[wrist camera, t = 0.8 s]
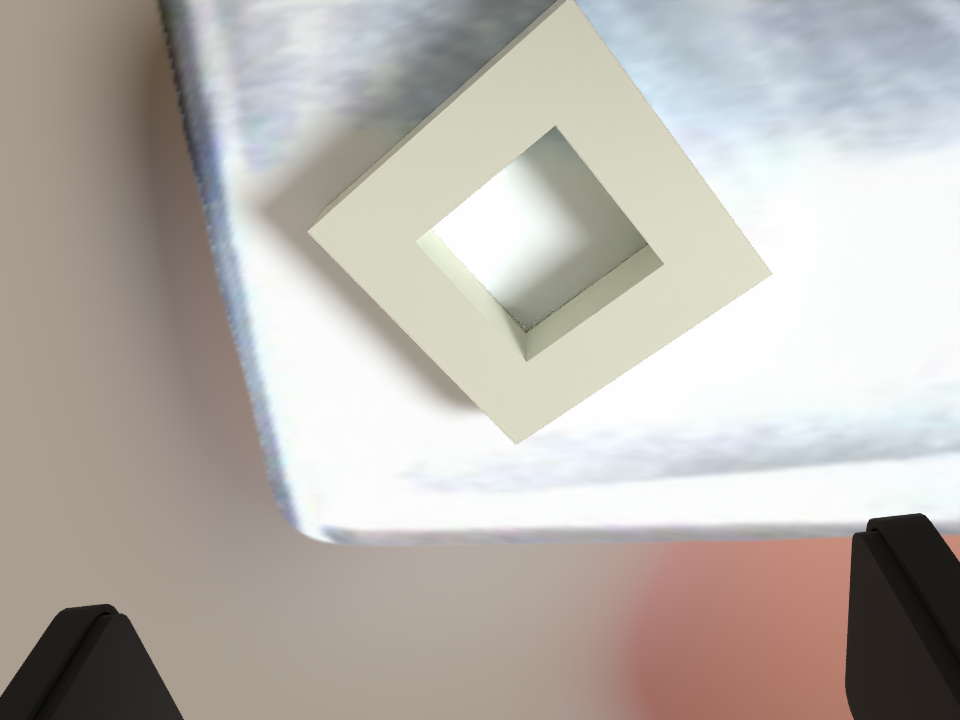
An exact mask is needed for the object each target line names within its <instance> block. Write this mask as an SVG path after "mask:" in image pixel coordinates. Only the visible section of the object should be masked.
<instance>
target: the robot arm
mask: <svg viewBox="0 0 960 720" xmlns="http://www.w3.org/2000/svg"><path fill="white" fill-rule="evenodd" d="M846 655H847V656H846V675H845V688H846V695H847V699H848V704H849V707H850V711H851V713H852V716H853V718H854V720H960V562H959V561H958V559H957V558H956V557H955V555H954V554H953V552H952V551H951V549H950V548H949V546H948V545H947V544H946V542H945V541H944V539H943V538H942V537H941V535H940V534H939V532H938V531H937V530H936V528H935V527H934V525H933V524H932V523H931V521H930V520H929V519H928V518H927V517H926V516H925V515H923V514H921V513H917V514H908V515H899V516H890V517H881V518H873V519H870V520H869V521H868V523H867V528H866V532H860V533H854V535H853V539H852V554H851V574H850V595H849V614H848V634H847V654H846ZM0 720H184V719H183V717H182V715H181V713H180V712H179V710H178V708H177V706H176V704H175V702H174V701H173V699H172V697H171V695H170V693H169V691H168V690H167V688H166V686H165V684H164V682H163V680H162V679H161V677H160V675H159V673H158V671H157V669H156V668H155V666H154V664H153V663H152V660H151V658H150V657H149V655H148V653H147V651H146V649H145V648H144V645H143V644H142V642H141V640H140V638H139V636H138V635H137V633H136V631H135V629H134V627H133V625H132V624H131V622H130V620H129V619H128V617H127V616H126V615H124V614H119V612H118V611H117V610H116V609H115V607H113V606H111V605H109V604H101V605H92V606H82V607H74V608H66V609H64V610H62V611H60V612H59V613H58V614H57V615H56V617H55V618H54V619H53V620H52V622H51V623H50V625H49V626H48V628H47V629H46V631H45V632H44V634H43V635H42V637H41V638H40V640H39V641H38V642H37V644H36V646H35V647H34V648H33V650H32V651H31V653H30V654H29V656H28V657H27V659H26V660H25V662H24V663H23V665H22V666H21V667H20V669H19V670H18V672H17V673H16V675H15V677H14V678H13V679H12V681H11V682H10V684H9V685H8V687H7V688H6V690H5V691H4V692H3V694H2V695H1V697H0Z"/></svg>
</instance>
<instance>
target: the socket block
mask: <svg viewBox="0 0 960 720" xmlns="http://www.w3.org/2000/svg"><path fill="white" fill-rule="evenodd" d="M554 126H556V127H557V128H558V129H559V131H560V132H561V133H562V135H563V136H564V137H565V138H566V140H567V141H568V142H569V143H570V145H571V146H572V147H573V149H574V150H575V151H576V152H577V154H578V155H579V156H580V157H581V159H582V160H583V161H584V163H585V164H586V165H587V166H588V168H589V169H590V170H591V171H592V173H593V174H594V175H595V177H596V178H597V179H598V180H599V182H600V183H601V184H602V185H603V187H604V188H605V189H606V191H607V192H608V193H609V194H610V196H611V197H612V198H613V199H614V201H615V202H616V203H617V205H618V206H619V207H620V208H621V210H622V211H623V212H624V213H625V215H626V216H627V217H628V219H629V220H630V221H631V222H632V224H633V225H634V226H635V227H636V229H637V230H638V231H639V233H640V234H641V235H642V236H643V238H644V239H645V240H646V241H647V243H648V245H646V246H645V247H644V248H642V249H641V250H639V251H638V252H637V253H635V254H634V255H633V256H631V257H630V258H628V259H627V260H626V261H624V262H623V263H622V264H620V265H619V266H617V267H616V268H615V269H613V270H612V271H611V272H609V273H608V274H606V275H605V276H604V277H602V278H601V279H600V280H598V281H597V282H595V283H594V284H593V285H591V286H590V287H589V288H587V289H586V290H584V291H583V292H582V293H580V294H579V295H578V296H576V297H575V298H573V299H572V300H571V301H569V302H568V303H567V304H565V305H564V306H562V307H561V308H560V309H558V310H557V311H555V312H554V313H553V314H551V315H550V316H549V317H547V318H546V319H544V320H543V321H542V322H540V323H539V324H538V325H536V326H535V327H533V328H532V329H531V330H529V331H528V332H527V333H525V332H524V330H523V329H522V328H521V327H520V326H519V325H518V324H517V323H516V322H515V321H514V319H513V318H512V317H511V316H510V315H509V314H508V313H507V312H506V311H505V309H504V308H503V307H502V306H501V305H500V304H499V303H498V302H497V301H496V300H495V298H494V297H493V296H492V295H491V294H490V293H489V292H488V291H487V290H486V289H485V287H484V286H483V285H482V284H481V283H480V282H479V281H478V280H477V279H476V277H475V276H474V275H473V274H472V273H471V272H470V271H469V270H468V269H467V268H466V266H465V265H464V264H463V263H462V262H461V261H460V260H459V259H458V258H457V256H456V255H455V254H454V253H453V252H452V251H451V250H450V249H449V248H448V247H447V245H446V244H445V243H444V242H443V241H442V240H441V239H440V238H439V237H438V236H437V234H436V233H435V232H434V231H433V230H432V229H431V228H432V227H433V226H435V225H436V224H437V223H438V222H439V221H441V220H442V219H443V218H444V217H446V216H447V215H448V214H449V213H450V212H452V211H453V210H454V209H455V208H456V207H458V206H459V205H460V204H461V203H462V202H464V201H465V200H466V199H467V198H468V197H470V196H471V195H472V194H473V193H475V192H476V191H477V190H478V189H479V188H481V187H482V186H483V185H484V184H485V183H487V182H488V181H489V180H490V179H491V178H493V177H494V176H495V175H496V174H497V173H499V172H500V171H501V170H502V169H503V168H505V167H506V166H507V165H508V164H510V163H511V162H512V161H513V160H514V159H516V158H517V157H518V156H519V155H520V154H522V153H523V152H524V151H525V150H526V149H528V148H529V147H530V146H531V145H532V144H534V143H535V142H536V141H537V140H538V139H540V138H541V137H542V136H543V135H545V134H546V133H547V132H548V131H549V130H551V129H552V128H553V127H554ZM307 232H308V233H309V235H310V236H311V237H312V238H313V239H314V240H315V241H316V242H317V243H318V244H319V245H320V246H321V247H322V248H323V249H324V250H325V251H326V252H327V253H328V254H329V255H330V256H331V257H332V258H333V259H334V260H335V261H336V262H337V263H338V264H339V265H340V266H341V267H342V268H343V269H344V270H345V271H346V272H347V273H348V274H349V275H350V276H351V277H352V278H353V279H354V280H355V281H356V282H357V283H358V284H359V285H360V287H361V288H362V289H363V290H364V291H365V292H366V293H367V294H368V295H369V296H370V297H371V298H372V299H373V300H374V301H375V302H376V303H377V304H378V305H379V306H380V307H381V308H382V309H383V310H384V311H385V312H386V313H387V314H388V315H389V316H390V317H391V318H392V319H393V320H394V321H395V322H396V323H397V324H398V325H399V326H400V327H401V328H402V329H403V330H404V331H405V332H406V333H407V334H408V335H409V336H410V338H411V339H412V340H413V341H414V342H415V343H416V344H417V345H418V346H419V347H420V348H421V349H422V350H423V351H424V352H425V353H426V354H427V355H428V356H429V357H430V358H431V359H432V360H433V361H434V362H435V363H436V364H437V365H438V366H439V367H440V368H441V369H442V370H443V371H444V372H445V373H446V374H447V375H448V376H449V377H450V378H451V379H452V380H453V381H454V382H455V383H456V384H457V385H458V386H459V387H460V388H461V390H462V391H463V392H464V393H465V394H466V395H467V396H468V397H469V398H470V399H471V400H472V401H473V402H474V403H475V404H476V405H477V406H478V407H479V408H480V409H481V410H482V411H483V412H484V413H485V414H486V415H487V416H488V417H489V418H490V419H491V420H492V421H493V422H494V423H495V424H496V425H497V426H498V427H499V428H500V429H501V430H502V431H503V432H504V433H505V434H506V435H507V436H508V437H509V438H510V439H511V441H512V442H513V443H514V444H515V445H517V444H519V443H520V442H522V441H523V440H525V439H526V438H528V437H529V436H531V435H532V434H534V433H535V432H537V431H538V430H540V429H541V428H543V427H544V426H546V425H547V424H549V423H550V422H552V421H553V420H555V419H556V418H558V417H559V416H561V415H562V414H564V413H565V412H567V411H568V410H570V409H571V408H573V407H574V406H576V405H577V404H579V403H580V402H582V401H583V400H585V399H586V398H588V397H589V396H591V395H592V394H594V393H595V392H597V391H598V390H600V389H601V388H603V387H604V386H606V385H607V384H609V383H610V382H612V381H613V380H615V379H616V378H618V377H619V376H621V375H622V374H624V373H625V372H627V371H628V370H630V369H631V368H633V367H634V366H636V365H637V364H639V363H640V362H642V361H643V360H645V359H646V358H648V357H649V356H651V355H652V354H654V353H655V352H657V351H658V350H660V349H661V348H663V347H664V346H666V345H667V344H669V343H670V342H672V341H673V340H675V339H676V338H678V337H679V336H681V335H682V334H684V333H685V332H687V331H688V330H690V329H691V328H693V327H694V326H696V325H697V324H699V323H700V322H702V321H703V320H705V319H706V318H708V317H709V316H711V315H712V314H714V313H715V312H717V311H718V310H720V309H721V308H723V307H724V306H726V305H727V304H729V303H730V302H732V301H733V300H735V299H736V298H738V297H739V296H741V295H742V294H744V293H745V292H747V291H748V290H750V289H751V288H753V287H754V286H756V285H757V284H759V283H760V282H762V281H763V280H765V279H766V278H768V277H769V276H771V275H772V273H771V271H770V270H769V268H768V267H767V266H766V264H765V263H764V262H763V260H762V259H761V257H760V256H759V255H758V253H757V252H756V250H755V249H754V248H753V246H752V245H751V244H750V242H749V241H748V239H747V238H746V237H745V235H744V234H743V233H742V231H741V230H740V228H739V227H738V226H737V224H736V223H735V222H734V220H733V219H732V217H731V216H730V215H729V213H728V212H727V211H726V209H725V208H724V206H723V205H722V204H721V202H720V201H719V200H718V198H717V197H716V195H715V194H714V193H713V191H712V190H711V188H710V187H709V186H708V184H707V183H706V182H705V180H704V179H703V177H702V176H701V175H700V173H699V172H698V171H697V169H696V168H695V166H694V165H693V164H692V162H691V161H690V160H689V158H688V157H687V155H686V154H685V153H684V151H683V150H682V149H681V147H680V146H679V144H678V143H677V142H676V140H675V139H674V137H673V136H672V135H671V133H670V132H669V131H668V129H667V128H666V126H665V125H664V124H663V122H662V121H661V120H660V118H659V117H658V115H657V114H656V113H655V111H654V110H653V109H652V107H651V106H650V104H649V103H648V102H647V100H646V99H645V98H644V96H643V95H642V93H641V92H640V91H639V89H638V88H637V86H636V85H635V84H634V82H633V81H632V80H631V78H630V77H629V75H628V74H627V73H626V71H625V70H624V69H623V67H622V66H621V64H620V63H619V62H618V60H617V59H616V58H615V56H614V55H613V53H612V52H611V51H610V49H609V48H608V47H607V45H606V44H605V42H604V41H603V40H602V38H601V37H600V36H599V34H598V33H597V31H596V30H595V29H594V27H593V26H592V24H591V23H590V22H589V20H588V19H587V18H586V16H585V15H584V13H583V12H582V11H581V9H580V8H579V7H578V5H577V4H576V2H575V1H574V0H557V1H556V2H554V3H553V4H552V5H551V6H550V7H549V8H548V9H547V10H546V11H544V12H543V13H542V14H541V15H540V16H539V17H538V18H537V19H535V20H534V21H533V22H532V23H531V24H530V25H529V26H528V27H527V28H525V29H524V30H523V31H522V32H521V33H520V34H519V35H518V36H516V37H515V38H514V39H513V40H512V41H511V42H510V43H509V44H508V45H506V46H505V47H504V48H503V49H502V50H501V51H500V52H499V53H498V54H496V55H495V56H494V57H493V58H492V59H491V60H490V61H489V62H487V63H486V64H485V65H484V66H483V67H482V68H481V69H480V70H479V71H477V72H476V73H475V74H474V75H473V76H472V77H471V78H470V79H469V80H467V81H466V82H465V83H464V84H463V85H462V86H461V87H460V88H458V89H457V90H456V91H455V92H454V93H453V94H452V95H451V96H450V97H448V98H447V99H446V100H445V101H444V102H443V103H442V104H441V105H439V106H438V107H437V108H436V109H435V110H434V111H433V112H432V113H431V114H429V115H428V116H427V117H426V118H425V119H424V120H423V121H422V122H421V123H419V124H418V125H417V126H416V127H415V128H414V129H413V130H412V131H410V132H409V133H408V134H407V135H406V136H405V137H404V138H403V139H402V140H400V141H399V142H398V143H397V144H396V145H395V146H394V147H393V148H392V149H390V150H389V151H388V152H387V153H386V154H385V155H384V156H383V157H381V158H380V159H379V160H378V161H377V162H376V163H375V164H374V165H373V166H371V167H370V168H369V169H368V170H367V171H366V172H365V173H364V174H362V175H361V176H360V177H359V178H358V179H357V180H356V181H355V182H354V183H352V184H351V185H350V186H349V187H348V188H347V189H346V190H345V191H344V192H342V193H341V194H340V195H339V196H338V197H337V198H336V199H335V200H333V201H332V202H331V203H330V204H329V205H328V206H327V207H326V208H325V209H323V210H322V212H321V213H320V215H319V216H318V217H317V219H316V220H315V222H314V223H313V224H312V226H311V227H310V229H309V230H308V231H307Z"/></svg>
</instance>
